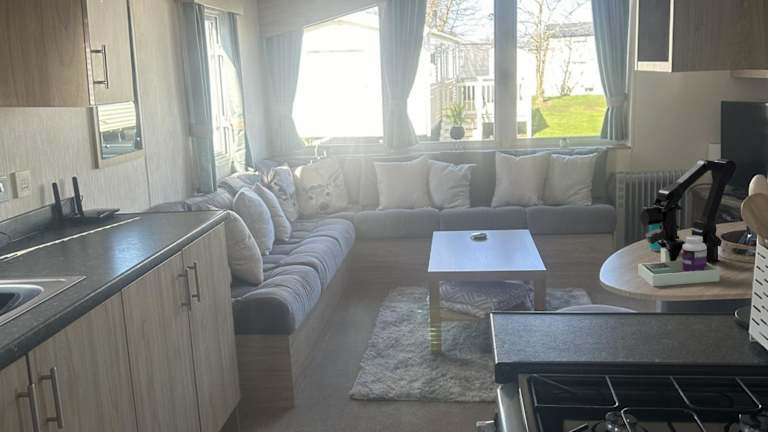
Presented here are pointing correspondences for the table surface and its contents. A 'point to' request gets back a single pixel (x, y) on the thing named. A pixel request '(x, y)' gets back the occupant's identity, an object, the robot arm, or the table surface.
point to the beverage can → (656, 246)
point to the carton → (666, 255)
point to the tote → (678, 275)
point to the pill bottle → (694, 254)
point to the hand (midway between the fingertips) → (669, 262)
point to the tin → (658, 268)
